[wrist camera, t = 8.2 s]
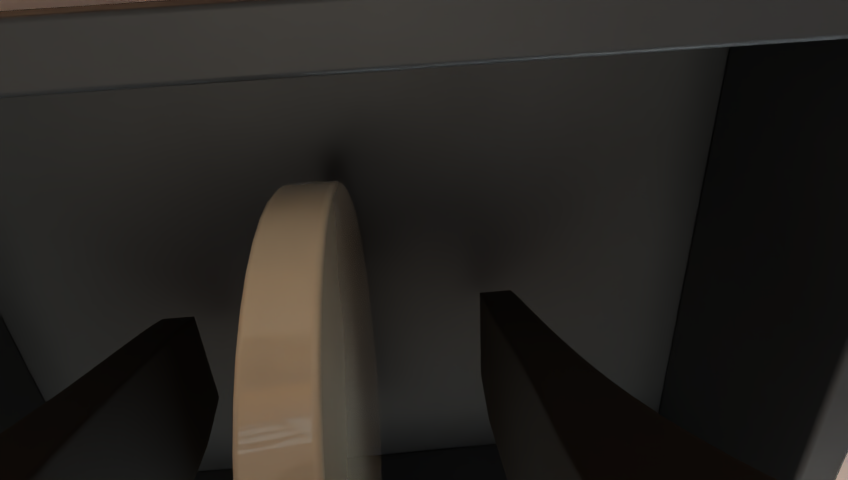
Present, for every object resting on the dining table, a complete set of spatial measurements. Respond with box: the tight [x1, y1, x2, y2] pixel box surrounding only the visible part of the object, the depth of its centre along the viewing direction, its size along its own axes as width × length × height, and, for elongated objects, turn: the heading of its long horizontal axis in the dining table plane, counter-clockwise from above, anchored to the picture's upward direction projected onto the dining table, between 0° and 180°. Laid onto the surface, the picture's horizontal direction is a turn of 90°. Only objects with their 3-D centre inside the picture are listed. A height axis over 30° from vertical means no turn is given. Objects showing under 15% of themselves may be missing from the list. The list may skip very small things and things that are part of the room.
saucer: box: [232, 180, 382, 480], centre depth 9 cm, size 1×8×8 cm, turn 2°
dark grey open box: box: [0, 0, 848, 480], centre depth 10 cm, size 18×13×5 cm
